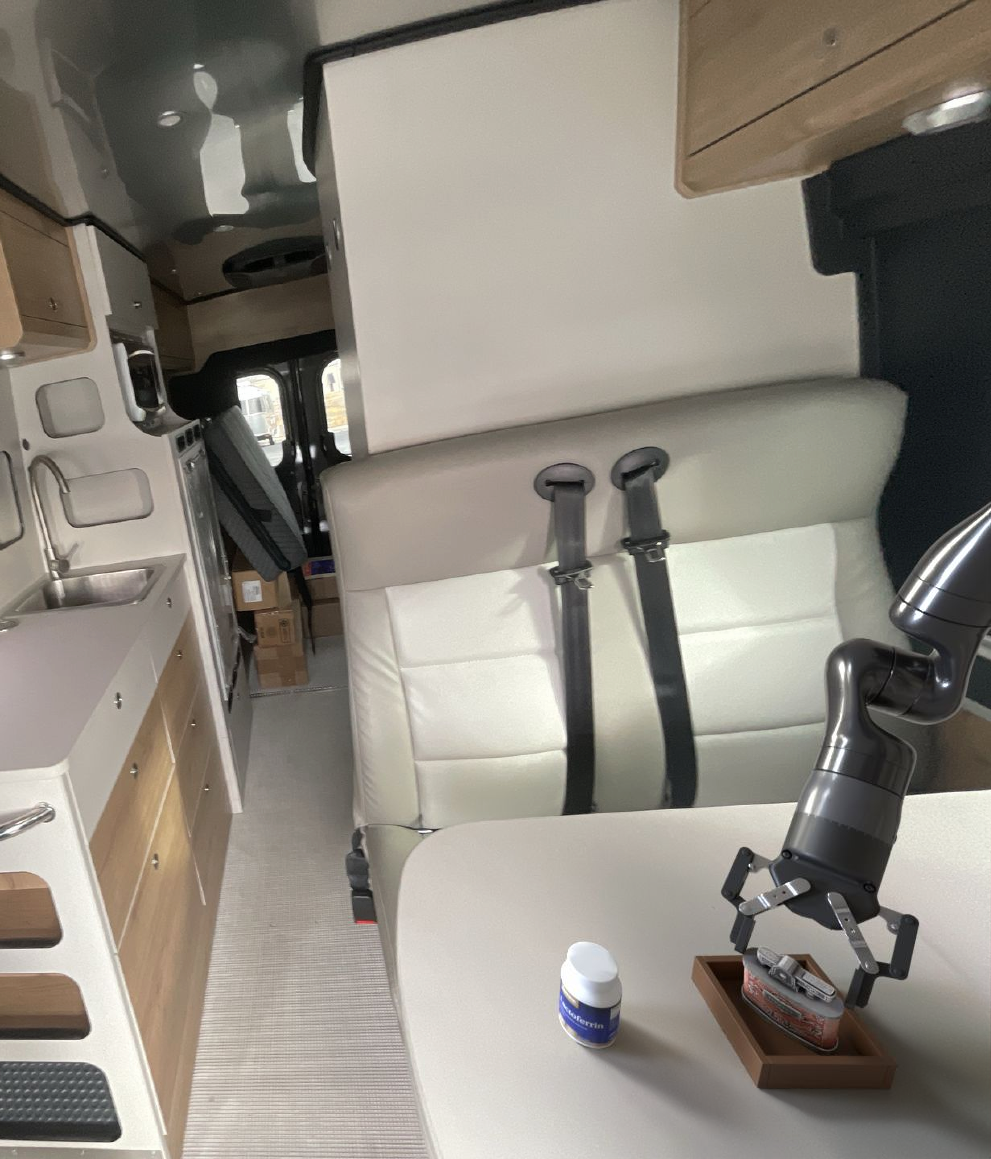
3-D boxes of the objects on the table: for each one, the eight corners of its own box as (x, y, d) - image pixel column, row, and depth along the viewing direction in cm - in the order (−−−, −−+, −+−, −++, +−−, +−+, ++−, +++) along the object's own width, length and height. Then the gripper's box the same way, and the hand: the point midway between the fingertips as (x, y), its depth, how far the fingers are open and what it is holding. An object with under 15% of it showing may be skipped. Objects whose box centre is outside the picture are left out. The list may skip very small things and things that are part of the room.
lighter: (734, 999, 72) (736, 949, 67) (751, 977, 73) (753, 926, 69) (827, 1063, 65) (836, 1012, 61) (844, 1038, 67) (854, 985, 62)
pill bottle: (549, 1028, 73) (552, 964, 69) (569, 989, 77) (573, 927, 73) (607, 1063, 69) (613, 997, 65) (625, 1021, 73) (632, 956, 69)
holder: (803, 976, 74) (809, 953, 73) (890, 1089, 63) (898, 1064, 62) (691, 978, 76) (694, 955, 74) (756, 1088, 65) (762, 1064, 64)
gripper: (752, 788, 71) (700, 934, 69) (945, 857, 60) (891, 1031, 58) (760, 802, 76) (712, 938, 74) (941, 867, 65) (890, 1029, 63)
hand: (791, 979), depth 66 cm, fingers closed on lighter, 8 cm apart
